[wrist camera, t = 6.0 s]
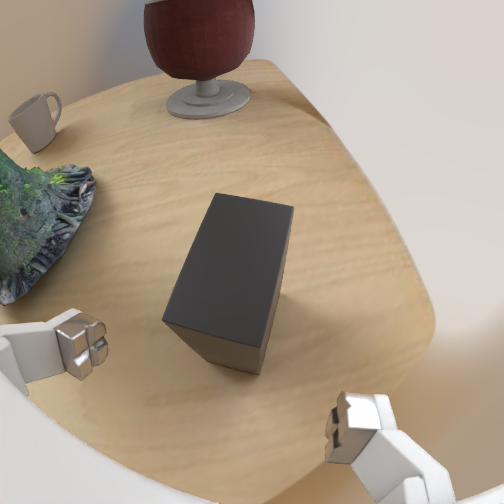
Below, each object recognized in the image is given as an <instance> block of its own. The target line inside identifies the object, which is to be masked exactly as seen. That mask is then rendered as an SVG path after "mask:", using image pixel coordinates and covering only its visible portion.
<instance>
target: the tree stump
mask: <svg viewBox="0 0 504 504" xmlns="http://www.w3.org/2000/svg"><path fill="white" fill-rule="evenodd" d="M91 174H92V172H91V169H90V168H89V167H83V168H79V167H78V166H77V167H76V166H75V165H65V166H61V167H58V168H55V169H51V170H48V171H46V172H43V171H42V170H41V169H40V168H39V167H38V168H37V169H36V168H35V167H34V168H32V169H31V170H27V169H26V168H25V169H23V168H21V167H20V166H18V165H17V164H16V163H15V162H14V161H13V160H12V159H10V158H9V157H8V156H7V155H6V154H5V153H4V152H3V151H2V150H1V149H0V304H2V305H4V306H5V305H8V304H10V303H13V302H15V301H16V300H17V299H18V298H20V297H22V296H23V295H25V294H26V293H27V292H28V291H29V290H30V289H31V288H32V287H33V286H34V284H35V283H36V282H37V281H38V280H39V279H40V278H41V277H42V276H43V275H44V274H45V273H46V272H47V271H48V269H49V268H50V267H51V266H52V265H53V264H54V262H55V261H56V260H58V259H59V258H61V257H62V256H63V254H64V253H65V251H66V249H67V247H68V245H69V243H70V242H71V240H72V238H73V236H74V234H75V233H76V231H77V229H78V228H79V226H80V224H81V222H82V221H83V219H84V217H85V216H86V214H87V213H88V211H89V209H90V207H91V203H92V200H93V195H94V192H95V189H96V187H97V186H96V182H95V181H93V180H94V179H93V176H92V175H91Z"/></svg>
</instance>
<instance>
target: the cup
mask: <svg viewBox="0 0 504 504" xmlns="http://www.w3.org/2000/svg"><path fill="white" fill-rule="evenodd" d="M49 96H54V97H55V99H56V100H57V103H58V110H57V114H56V116H55V117H54V119H53V120H52V118H51V114H50V111H49V108H48V104H47V101H46V99H47V98H48V97H49ZM61 110H62V105H61V101H60V98H59V96H58V95H57V94H56V93H53V92H50V93H46V94H44V93H39V94H37V95H35V96H33V97H32V98H30V99H29V100H27V101H26V102H24V103H23V104H22V105H20V106H19V107H18V108H17V109H16V110H15V111H14V112H13V113H12V114H11V115H10V116H9V118H8V121H9V123H10V124H11V126H12V127H13V129H14V130H15V132H16V133H17V134H18V136H19V137H20V138H21V140H22V141H23V142H24V144H25V145H26V146H27V147H28V148H29V150H30V151H31V152H38V151H40V150H41V149H43V148H44V147H46V146H47V145H48V144H49V143H50V142H51V141H52V140H53V139H54V137H55V135H56V131H55V125H56V124H57V122H58V120H59V118H60V115H61Z"/></svg>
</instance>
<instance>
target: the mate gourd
mask: <svg viewBox="0 0 504 504" xmlns="http://www.w3.org/2000/svg"><path fill="white" fill-rule="evenodd" d="M144 5H145V9H144V32H145V37H146V42H147V46H148V49H149V51H150V54H151V56H152V58H153V60H154V62H155V64H156V66H157V67H159V68H160V69H161V70H163V71H164V72H165V73H167V74H168V75H169V76H171V77H173V78H177V79H189V80H196V83H195V84H192V85H189V86H186V87H184V88H182V89H180V90H178V91H176V92H175V93H173V94H172V95H171V96H170V97H169V98H168V100H167V102H166V106H167V110H168V112H169V113H170V114H172V115H173V116H176V117H179V118H186V119H203V118H211V117H216V116H221V115H225V114H228V113H231V112H233V111H236V110H238V109H240V108H242V107H243V106H245V105H246V104H247V103H248V102H249V100H250V90H249V88H248V87H247V86H245V85H243V84H241V83H238V82H234V81H228V80H216V79H215V77H217V76H219V75H222V74H225V73H227V72H230V71H232V70H234V69H236V68H238V67H239V66H240V64H241V63H242V62H243V60H244V59H245V58H246V57H247V55H248V54H249V53H250V50H251V46H252V42H253V36H254V29H255V18H254V17H255V16H254V8H253V3H252V0H153V1H149V2H146V3H144Z"/></svg>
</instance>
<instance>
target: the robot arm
mask: <svg viewBox="0 0 504 504" xmlns="http://www.w3.org/2000/svg"><path fill="white" fill-rule="evenodd" d="M105 334H106V327H105V324H104V323H103V322H101V321H99V320H97V319H95V318H93V317H91V316H89V315H87V314H85V313H83V312H81V311H79V310H77V309H74V308H71V309H69V310H67V311H65V312H64V313H62V314H60V315H58V316H56V317H54V318H53V319H51V320H49V321H47V322H45V323H44V322H32V323H20V324H7V325H0V504H219V503H216V502H212V501H209V500H205V499H202V498H199V497H196V496H193V495H190V494H187V493H184V492H182V491H179V490H176V489H174V488H171V487H169V486H166V485H164V484H161V483H159V482H157V481H154V480H152V479H150V478H148V477H145V476H143V475H141V474H139V473H137V472H135V471H133V470H131V469H129V468H127V467H125V466H123V465H121V464H120V463H118V462H116V461H114V460H112V459H111V458H109V457H107V456H105V455H104V454H102V453H100V452H99V451H97V450H96V449H94V448H92V447H91V446H89V445H88V444H86V443H85V442H83V441H82V440H80V439H79V438H77V437H76V436H74V435H73V434H71V433H70V432H69V431H67V430H66V429H65V428H63V427H62V426H61V425H59V424H58V423H57V422H55V421H54V420H53V419H52V418H50V417H49V416H48V415H47V414H45V413H44V412H43V411H42V410H41V409H40V408H38V407H37V406H36V405H35V404H34V403H33V402H32V401H30V400H29V399H28V398H27V396H28V395H29V392H28V389H27V387H26V385H25V383H29V382H33V381H37V380H40V379H44V378H47V377H51V376H54V375H58V374H61V373H64V372H65V371H66V372H68V373H69V374H71V375H73V376H74V377H76V378H78V379H79V380H81V381H82V380H83V379H84V378H85V377H87V376H88V375H89V374H90V373H91V372H92V370H93V367H94V366H98V365H100V364H102V363H103V362H104V361H105V359H106V357H107V355H108V343H107V341H106V339H105V338H104V336H105ZM325 436H326V437H327V439H328V440H329V441H328V443H327V444H326V446H325V462H328V463H337V464H350V466H351V468H352V469H353V470H354V472H355V474H356V475H357V476H358V478H359V479H360V481H361V483H362V484H363V485H364V487H365V488H366V490H367V491H368V493H369V494H370V496H371V497H372V499H373V500H374V501H375V503H376V504H504V483H503V484H501V485H499V486H497V487H495V488H492V489H490V490H487V491H485V492H483V493H480V494H477V495H475V496H472V497H469V498H466V499H463V500H460V501H457V502H456V498H455V494H454V491H453V487H452V483H451V480H450V476H449V473H448V470H446V469H445V468H444V467H443V466H442V465H441V464H439V463H438V462H437V461H436V460H435V459H434V458H432V457H431V456H430V455H429V454H428V453H427V452H426V451H425V450H423V449H422V448H421V447H420V446H419V445H417V443H415V442H414V441H413V440H412V439H411V438H410V437H409V436H408V435H407V434H405V433H404V432H403V431H402V430H398V429H397V425H396V422H395V418H394V415H393V411H392V408H391V404H390V401H389V397H388V396H387V395H382V394H364V393H354V392H346V391H342V392H341V393H340V395H339V396H338V398H337V407H335V408H334V409H332V410H331V413H330V415H329V417H328V420H327V423H326V430H325Z"/></svg>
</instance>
